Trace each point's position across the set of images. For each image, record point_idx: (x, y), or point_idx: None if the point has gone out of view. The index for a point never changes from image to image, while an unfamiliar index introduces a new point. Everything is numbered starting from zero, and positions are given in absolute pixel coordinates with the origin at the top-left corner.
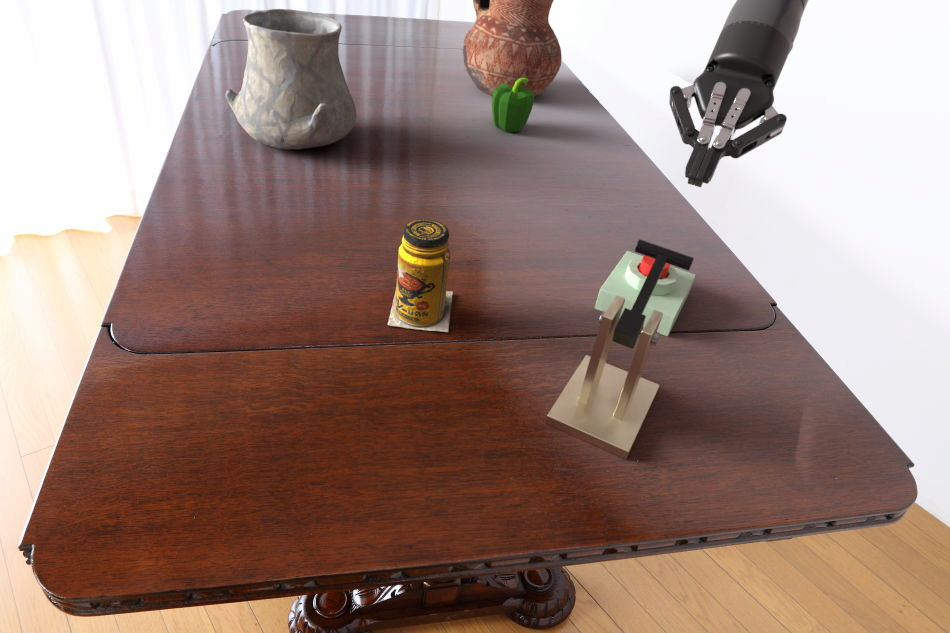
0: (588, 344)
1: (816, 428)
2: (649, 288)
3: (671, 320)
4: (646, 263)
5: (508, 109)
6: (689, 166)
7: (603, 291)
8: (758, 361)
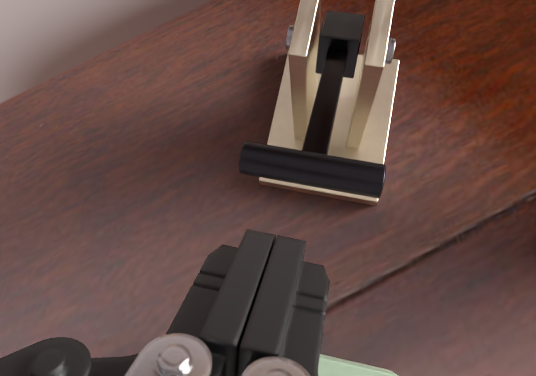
0: (377, 254)
1: (40, 205)
2: (324, 88)
3: None
4: None
5: None
6: (313, 283)
7: (390, 373)
8: (95, 334)
